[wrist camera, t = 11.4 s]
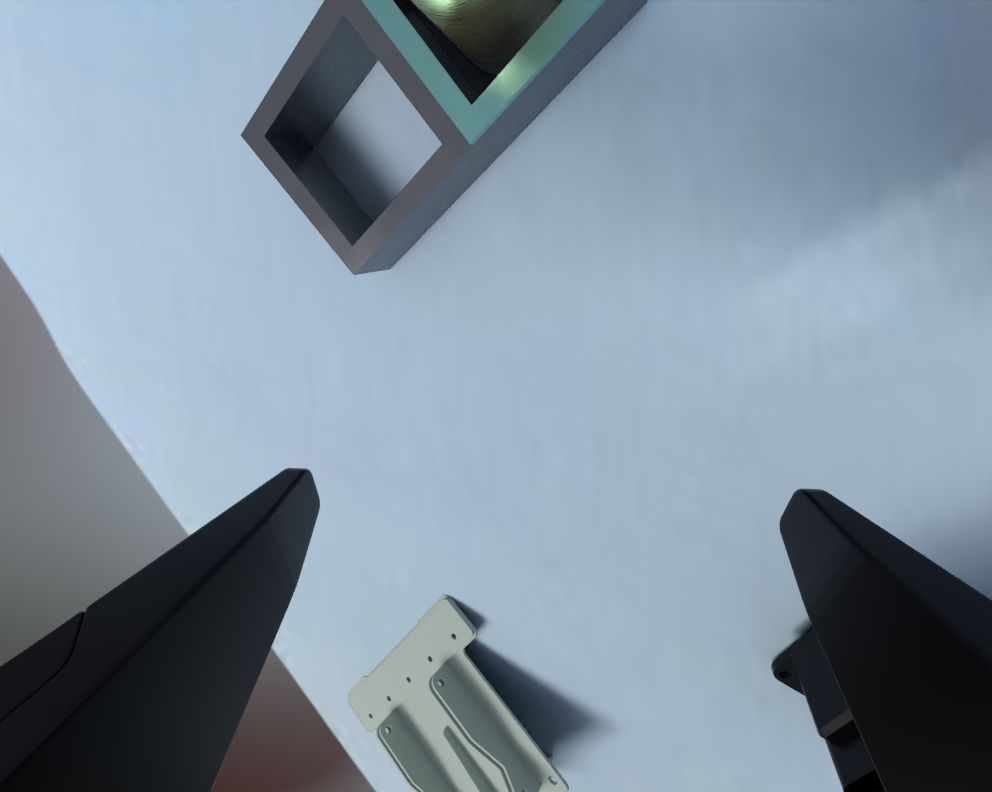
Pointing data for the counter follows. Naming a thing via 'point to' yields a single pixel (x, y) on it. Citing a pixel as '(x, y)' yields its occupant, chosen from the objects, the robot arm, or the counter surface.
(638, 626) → the counter surface
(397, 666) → the metal bracket
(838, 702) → the robot arm
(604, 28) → the hole rail
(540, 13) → the brass post
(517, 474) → the counter surface
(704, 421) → the counter surface
